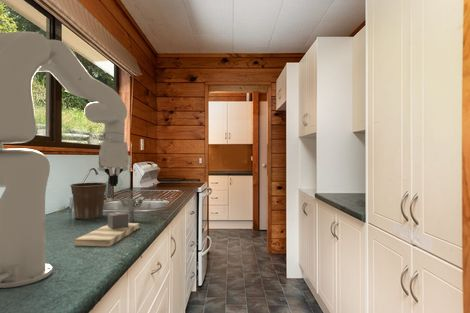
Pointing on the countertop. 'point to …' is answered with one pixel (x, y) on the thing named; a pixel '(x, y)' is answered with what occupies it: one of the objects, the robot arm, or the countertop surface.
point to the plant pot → (88, 199)
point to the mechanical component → (131, 205)
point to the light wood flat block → (105, 235)
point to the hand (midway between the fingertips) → (113, 185)
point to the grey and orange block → (117, 220)
